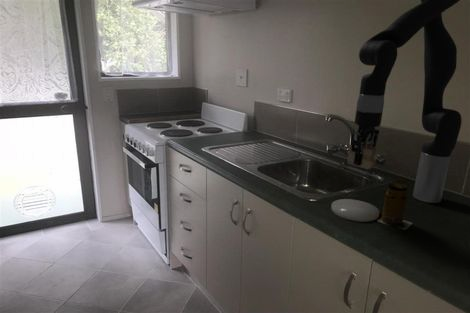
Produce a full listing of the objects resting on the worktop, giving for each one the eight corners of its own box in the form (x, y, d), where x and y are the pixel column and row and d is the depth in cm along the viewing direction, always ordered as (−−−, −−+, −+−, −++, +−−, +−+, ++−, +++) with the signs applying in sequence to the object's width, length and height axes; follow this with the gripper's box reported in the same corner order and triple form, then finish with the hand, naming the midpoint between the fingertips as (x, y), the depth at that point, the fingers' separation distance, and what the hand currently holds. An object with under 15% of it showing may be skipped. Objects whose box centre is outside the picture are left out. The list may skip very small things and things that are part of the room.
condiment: (385, 214, 112) (391, 180, 109) (412, 223, 107) (419, 187, 103) (376, 221, 107) (382, 185, 104) (404, 231, 102) (412, 193, 98)
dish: (345, 198, 124) (345, 195, 124) (386, 212, 114) (387, 209, 113) (322, 210, 114) (322, 206, 113) (365, 226, 103) (366, 222, 103)
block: (354, 161, 113) (357, 143, 112) (375, 166, 109) (378, 148, 107) (347, 163, 110) (349, 145, 108) (368, 169, 105) (371, 150, 104)
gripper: (368, 106, 112) (360, 156, 117) (346, 109, 102) (339, 164, 107) (391, 109, 107) (382, 162, 111) (370, 113, 97) (362, 170, 102)
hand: (361, 162), depth 109 cm, fingers closed on block, 5 cm apart
